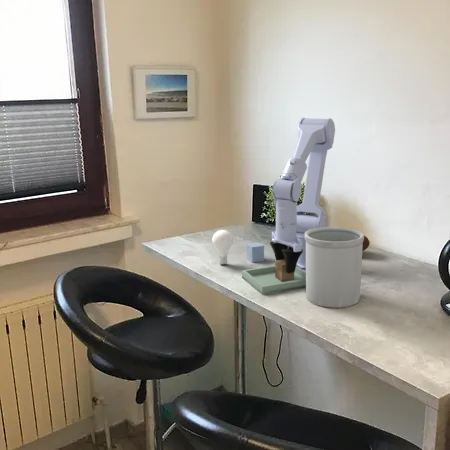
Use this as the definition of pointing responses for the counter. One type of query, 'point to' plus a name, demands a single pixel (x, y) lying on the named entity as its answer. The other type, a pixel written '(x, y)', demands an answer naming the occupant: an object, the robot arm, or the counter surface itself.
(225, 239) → the lightbulb
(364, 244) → the potato
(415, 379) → the counter surface
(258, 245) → the bluegrey block
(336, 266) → the utensil holder
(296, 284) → the tray
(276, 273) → the walnut block
